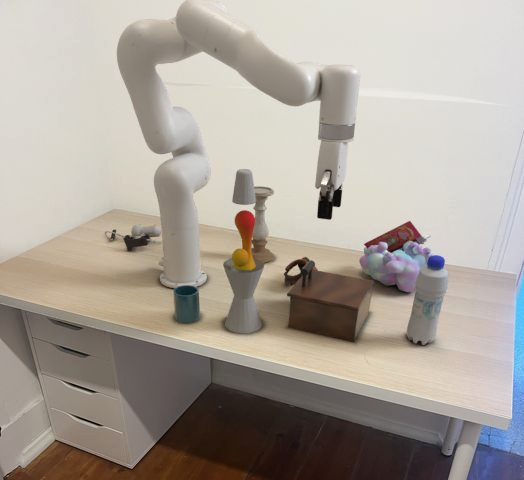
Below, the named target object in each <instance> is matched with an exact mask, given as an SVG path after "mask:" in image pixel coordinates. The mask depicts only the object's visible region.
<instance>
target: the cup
mask: <svg viewBox="0 0 524 480" xmlns="http://www.w3.org/2000/svg"><path fill="white" fill-rule="evenodd" d="M172 294H173V307H174V317H175V320H176V322H179V323H183V324H191V323H195V322H197V321H199V319H200V318H201V310H200V309H201V305H200V304H201V303H200V289H199V288H198V286H197V287H195V286H191V285H183V286H179V287H176V288H173V291H172Z"/></svg>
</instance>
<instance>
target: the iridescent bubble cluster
mask: <svg viewBox="0 0 524 480" xmlns="http://www.w3.org/2000/svg"><path fill="white" fill-rule="evenodd" d="M429 238H431V235H428V234H425V235H422V234H421V233H420V232H419V231H418V229H417V228H416V226H415V225H414V224H413V222H412V221H411V220H408V221H406V222H404V223H403V224H400V225H399V226H396V227H395V228H393V229H390V230H388V231H386V232H384V233H383V234H381V235H379V236H376V237H375V238H372V239H370V240H369V241H367V242H364V243H363V245H364V248H363V254H364V255H363V256H360V258H359V265H360V266H361V269H362V272H363V273H364V274H365V275H369V276H370V277H371V279H373V280H374V281H378V282H380V283H381V284H382V285H383V286H394V285H396V286H397V289H398V290H400V291H402V292H403V293H404V292H405V293H412V292H414V291H415V282H416V279H417V276H418V274H419V271H420V269H421V268H422V267H424V266H427V262H428V259H429V257H430V256H433V255H434V254H433V253H431V252H432V249H431V248H430V247H429V246H426V247H423V246H422V245H425V243H426V242H427V240H428V239H429Z"/></svg>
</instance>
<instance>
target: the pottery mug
mask: <svg viewBox="0 0 524 480" xmlns="http://www.w3.org/2000/svg"><path fill="white" fill-rule="evenodd" d="M310 260H311V259H310V258H309V257H307V256H303V257H302V258H298V259H295V260H293V261H291V262H290V263H289V264H287V265H286V266H285V268H284V270H285V271H284V273H283V276H284V284H285V285H286V286H287V285H288V286H294V285H295V283H296V282H297V281H298V280H299V279H300V278H301V277H302V275H301V273H300V272H299V273H297V274H294V275H289V272H290V271H292V269H294V268H295V267H298V269H299V271H301V269H302V268H303V267H304V266H305V265H306V264H307V263H308V262H309V261H310ZM312 270H317V271H319V270H318V268H317V267H316V265H315V266H314V268H313V269H312Z"/></svg>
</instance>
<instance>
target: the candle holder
mask: <svg viewBox="0 0 524 480" xmlns="http://www.w3.org/2000/svg"><path fill="white" fill-rule="evenodd" d="M254 190H255V197H256V203H254V205H253V208H252V209H253V210H254V217H255V225H254V229H253V234H252V246H253V247H251V248H252V256H253V258H256V259H259V260H261V261H262V262H263V263H264V264H266V263H270V262H272V261H273V260H274V257H275V256H274V255H275V254H274V253H273V252H272V251H271V250H270V249H269V248H267V247H266V246H267V244H268V240H267V238H268V237H269V235H270V232H269V227H268V225H267V222H266V216H265V215H266V213H265V212H266V210H267V209H268V208H267V205H266V201H267V200H268V198H269V197H271V196H273V195H274V193H275V190H274V189H273V188H271V187H269V186H259V185H257V186H254Z"/></svg>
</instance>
